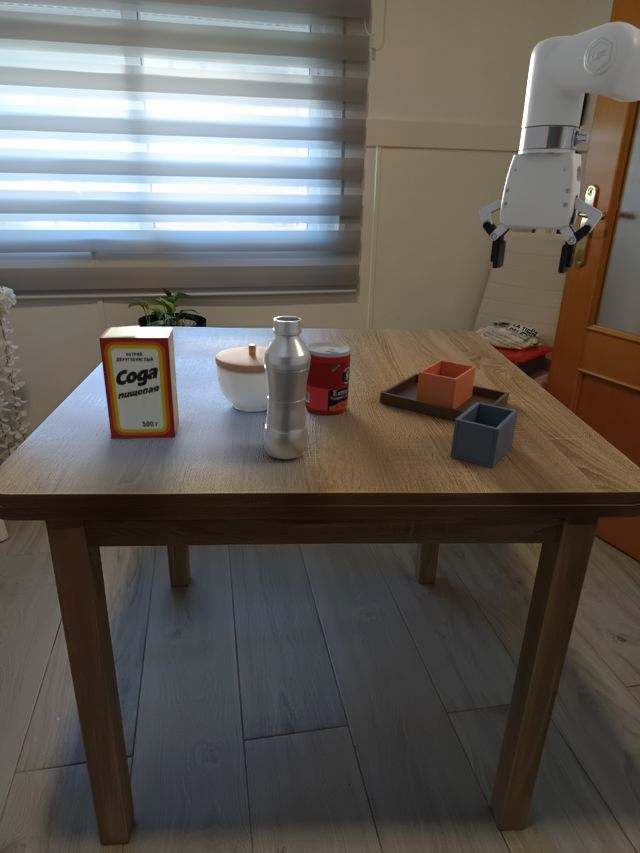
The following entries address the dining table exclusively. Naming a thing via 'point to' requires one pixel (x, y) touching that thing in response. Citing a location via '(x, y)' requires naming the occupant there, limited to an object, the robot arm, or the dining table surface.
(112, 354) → the baking soda box
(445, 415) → the tray
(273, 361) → the silver metal bottle
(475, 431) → the grey tub
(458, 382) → the terracotta tub
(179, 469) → the dining table surface
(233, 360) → the lidded bowl
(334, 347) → the canned food
